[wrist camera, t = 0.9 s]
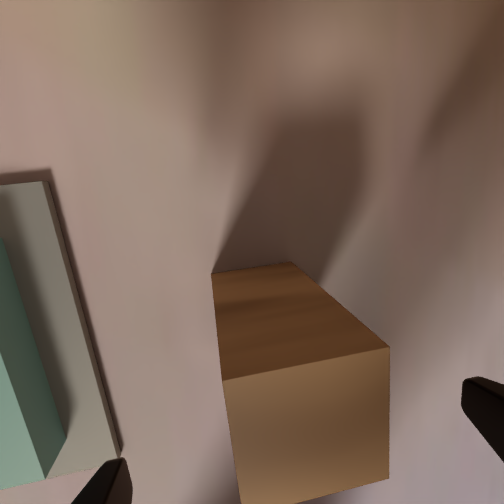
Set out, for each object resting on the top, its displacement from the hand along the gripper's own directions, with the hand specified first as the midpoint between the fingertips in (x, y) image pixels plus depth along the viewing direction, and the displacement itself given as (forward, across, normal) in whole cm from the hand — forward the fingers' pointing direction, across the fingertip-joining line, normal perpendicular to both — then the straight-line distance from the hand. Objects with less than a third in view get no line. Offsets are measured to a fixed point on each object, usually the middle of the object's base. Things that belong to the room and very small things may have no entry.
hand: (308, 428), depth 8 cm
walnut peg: (+8, 0, 0) cm, 8 cm away
